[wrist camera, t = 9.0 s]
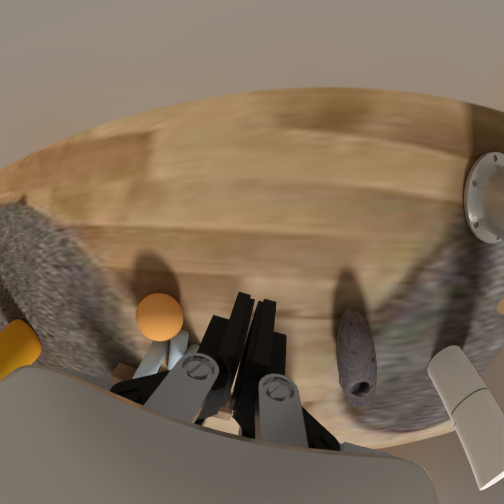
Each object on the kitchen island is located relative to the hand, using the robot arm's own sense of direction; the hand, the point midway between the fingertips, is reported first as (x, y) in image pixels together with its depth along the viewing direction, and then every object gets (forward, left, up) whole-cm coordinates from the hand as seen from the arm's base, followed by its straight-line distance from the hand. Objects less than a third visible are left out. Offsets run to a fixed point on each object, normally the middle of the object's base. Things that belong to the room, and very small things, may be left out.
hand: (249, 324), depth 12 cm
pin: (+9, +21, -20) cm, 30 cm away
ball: (+9, +15, -17) cm, 24 cm away
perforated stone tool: (-16, +14, -20) cm, 29 cm away
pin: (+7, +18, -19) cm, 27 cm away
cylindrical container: (-36, +15, -20) cm, 44 cm away
